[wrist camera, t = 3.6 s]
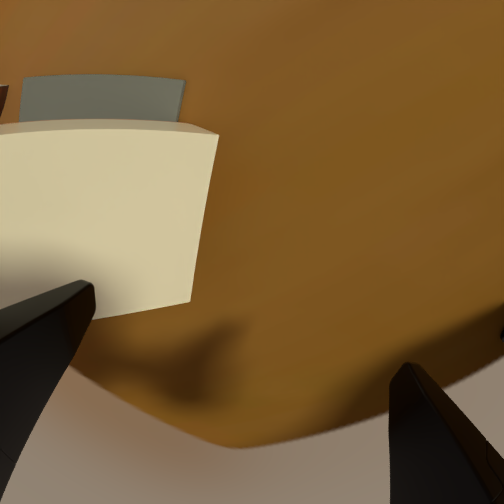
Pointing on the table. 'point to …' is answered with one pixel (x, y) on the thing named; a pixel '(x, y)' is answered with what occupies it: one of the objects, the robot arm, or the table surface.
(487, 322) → the table surface
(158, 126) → the glazed tile
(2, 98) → the food container
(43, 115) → the rubber mat
